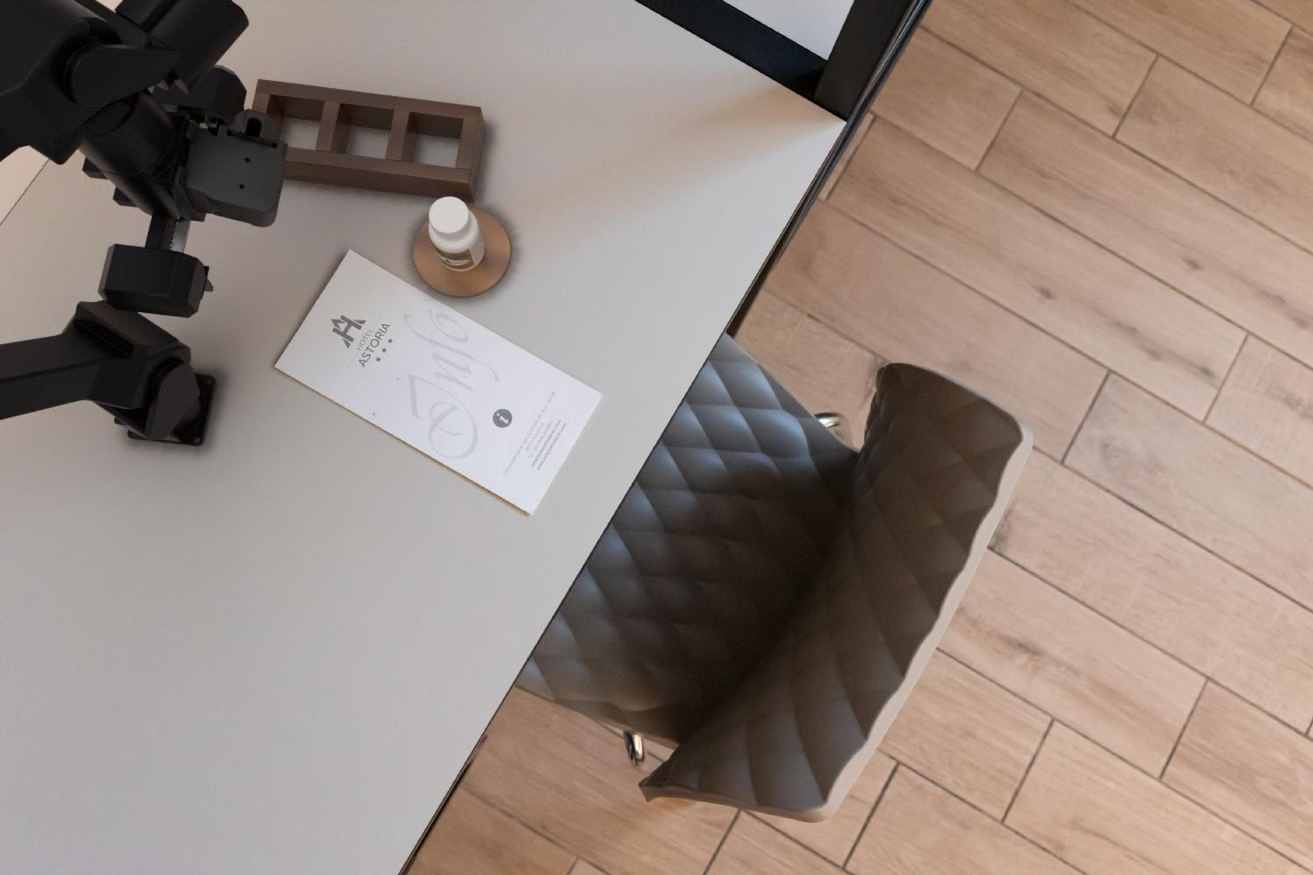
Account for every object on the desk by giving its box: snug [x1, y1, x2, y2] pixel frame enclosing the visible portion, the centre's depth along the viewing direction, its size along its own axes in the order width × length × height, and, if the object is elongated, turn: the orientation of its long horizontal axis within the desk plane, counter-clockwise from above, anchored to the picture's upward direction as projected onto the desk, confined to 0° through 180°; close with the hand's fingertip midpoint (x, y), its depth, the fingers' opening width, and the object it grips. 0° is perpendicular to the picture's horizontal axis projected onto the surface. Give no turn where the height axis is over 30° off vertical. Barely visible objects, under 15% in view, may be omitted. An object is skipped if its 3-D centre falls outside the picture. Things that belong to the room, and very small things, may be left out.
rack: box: [250, 78, 487, 203], centre depth 92 cm, size 8×21×4 cm, turn 84°
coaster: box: [412, 206, 512, 298], centre depth 92 cm, size 9×9×1 cm
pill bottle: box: [428, 197, 484, 272], centre depth 88 cm, size 4×4×8 cm
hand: (219, 235), depth 79 cm, fingers open, 9 cm apart
